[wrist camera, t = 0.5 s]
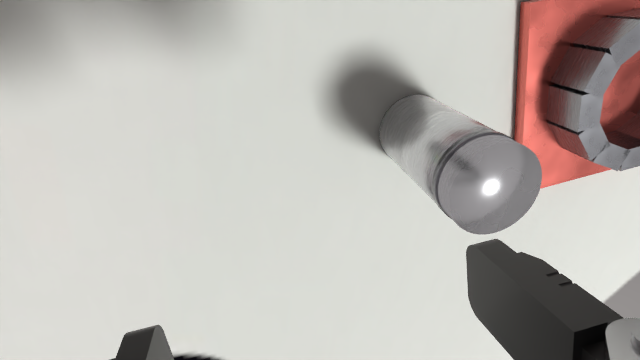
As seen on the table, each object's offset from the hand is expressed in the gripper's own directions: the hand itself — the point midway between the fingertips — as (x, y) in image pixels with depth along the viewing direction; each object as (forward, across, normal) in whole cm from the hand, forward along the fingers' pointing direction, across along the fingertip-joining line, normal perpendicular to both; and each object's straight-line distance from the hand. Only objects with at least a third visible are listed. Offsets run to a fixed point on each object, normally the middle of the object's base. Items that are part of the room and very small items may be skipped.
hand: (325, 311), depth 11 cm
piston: (+18, -10, +1) cm, 21 cm away
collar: (+18, -25, +1) cm, 31 cm away
